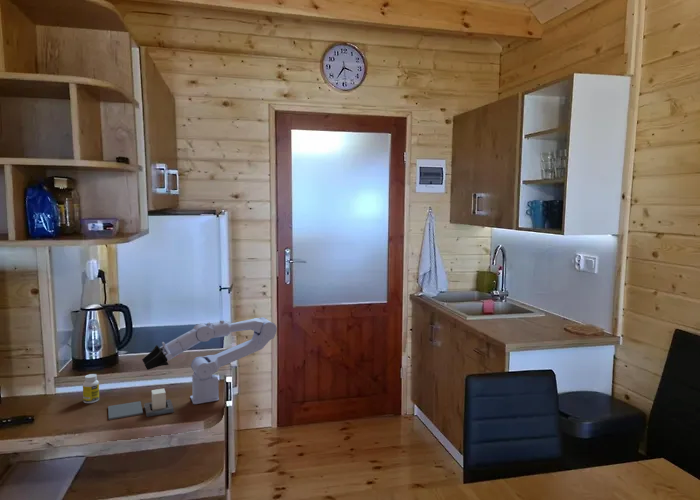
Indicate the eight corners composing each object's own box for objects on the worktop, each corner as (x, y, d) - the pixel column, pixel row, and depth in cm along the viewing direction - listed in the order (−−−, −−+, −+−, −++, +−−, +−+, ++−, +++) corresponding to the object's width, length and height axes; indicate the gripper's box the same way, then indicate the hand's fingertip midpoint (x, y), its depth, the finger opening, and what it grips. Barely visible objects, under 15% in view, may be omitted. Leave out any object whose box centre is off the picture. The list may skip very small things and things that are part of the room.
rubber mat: (140, 402, 186) (140, 401, 186) (143, 414, 176) (142, 412, 176) (108, 407, 181) (108, 406, 181) (108, 419, 171) (108, 418, 171)
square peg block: (164, 406, 183) (164, 388, 182) (166, 411, 179) (165, 392, 178) (151, 408, 181) (151, 390, 180) (153, 413, 177) (152, 394, 176)
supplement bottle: (92, 404, 184) (91, 378, 183) (80, 402, 185) (78, 377, 184) (102, 398, 189) (101, 373, 188) (90, 397, 190) (89, 372, 189)
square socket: (170, 402, 186) (170, 399, 186) (173, 412, 178) (173, 408, 178) (144, 407, 182) (144, 403, 182) (146, 417, 174) (146, 412, 174)
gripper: (171, 331, 189) (137, 350, 183) (178, 339, 176) (141, 360, 171) (180, 347, 191) (146, 366, 185) (187, 356, 178) (151, 377, 172)
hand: (144, 364), depth 178 cm, fingers open, 7 cm apart
